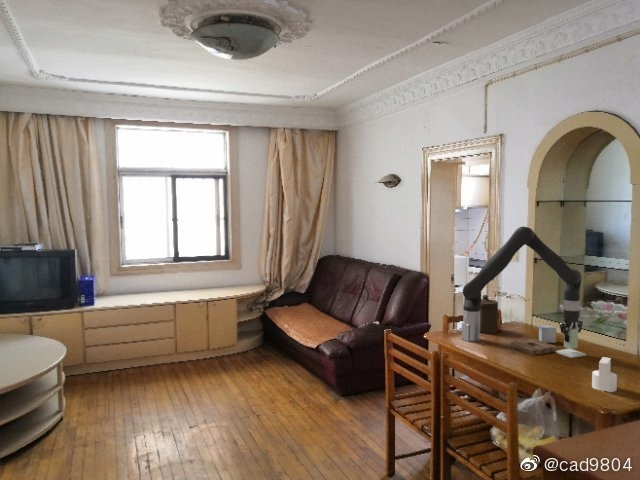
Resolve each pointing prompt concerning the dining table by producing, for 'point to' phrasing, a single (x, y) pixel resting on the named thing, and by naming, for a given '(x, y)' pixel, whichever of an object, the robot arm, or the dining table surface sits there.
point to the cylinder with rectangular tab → (604, 377)
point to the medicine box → (547, 334)
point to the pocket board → (533, 346)
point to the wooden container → (488, 315)
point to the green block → (572, 339)
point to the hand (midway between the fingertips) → (570, 341)
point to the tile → (570, 353)
